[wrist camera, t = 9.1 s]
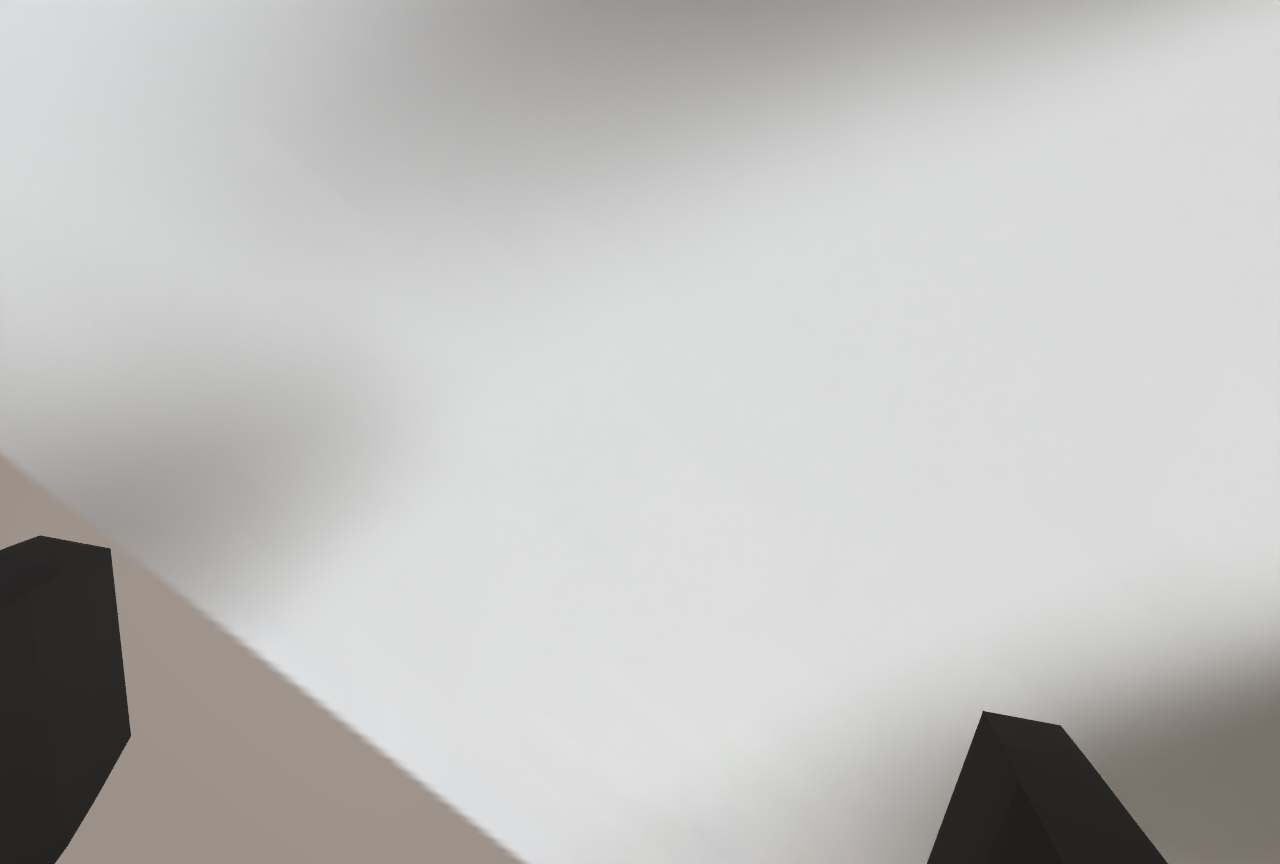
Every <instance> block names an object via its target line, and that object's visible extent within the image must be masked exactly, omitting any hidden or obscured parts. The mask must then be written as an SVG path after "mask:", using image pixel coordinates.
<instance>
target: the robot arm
mask: <svg viewBox="0 0 1280 864" xmlns="http://www.w3.org/2000/svg"><path fill="white" fill-rule="evenodd" d="M130 737H131V733H130V724H129V714H128V705H127V696H126V686H125V677H124V669H123V659H122V651H121V641H120V632H119V623H118V613H117V605H116V596H115V586H114V577H113V569H112V559H111V549H110V548H104V547H99V546H94V545H88V544H82V543H78V542H72V541H66V540H61V539H56V538H51V537H45V536H37V537H35V538H32V539H29V540H26V541H24V542H21V543H18V544H15V545H13V546H10V547H7V548H5V549H3V550H0V864H55V862H56V861H57V860H58V858H59V857H60V855H61V854H62V853H63V851H64V850H65V849H66V847H67V846H68V844H69V843H70V841H71V839H72V838H73V836H74V834H75V833H76V831H77V829H78V827H79V826H80V824H81V822H82V821H83V819H84V818H85V816H86V814H87V813H88V811H89V809H90V808H91V806H92V804H93V803H94V801H95V799H96V797H97V796H98V794H99V792H100V790H101V789H102V787H103V785H104V783H105V782H106V780H107V778H108V776H109V774H110V773H111V770H112V769H113V767H114V765H115V764H116V762H117V760H118V758H119V756H120V755H121V753H122V751H123V749H124V747H125V746H126V744H127V742H128V740H129V739H130ZM927 864H1168V863H1167V862H1166V861H1165V859H1164V858H1163V857H1162V855H1161V854H1160V853H1159V852H1158V850H1157V849H1156V848H1155V846H1154V845H1153V844H1152V843H1151V841H1150V840H1149V839H1148V837H1147V836H1146V835H1145V833H1144V832H1143V831H1142V830H1141V828H1140V827H1139V826H1138V824H1137V823H1136V822H1135V821H1134V819H1133V818H1132V817H1131V815H1130V814H1129V813H1128V811H1127V810H1126V809H1125V807H1124V806H1123V805H1122V804H1121V802H1120V801H1119V800H1118V798H1117V797H1116V796H1115V794H1114V793H1113V792H1112V790H1111V789H1110V788H1109V787H1108V785H1107V784H1106V783H1105V781H1104V780H1103V779H1102V777H1101V776H1100V775H1099V774H1098V772H1097V771H1096V770H1095V768H1094V767H1093V766H1092V764H1091V763H1090V762H1089V761H1088V759H1087V758H1086V757H1085V755H1084V754H1083V753H1082V752H1081V750H1080V749H1079V748H1078V747H1077V745H1076V744H1075V743H1074V742H1073V740H1072V739H1071V738H1070V737H1069V735H1068V734H1067V733H1066V732H1065V730H1064V729H1063V728H1062V727H1061V726H1060V725H1055V724H1050V723H1044V722H1039V721H1034V720H1028V719H1023V718H1018V717H1012V716H1007V715H1001V714H996V713H991V712H985V711H983V713H982V716H981V718H980V721H979V724H978V727H977V729H976V732H975V735H974V737H973V740H972V743H971V746H970V748H969V751H968V754H967V756H966V759H965V762H964V765H963V767H962V770H961V773H960V775H959V778H958V781H957V784H956V786H955V789H954V792H953V794H952V797H951V800H950V803H949V805H948V808H947V811H946V813H945V816H944V819H943V822H942V824H941V827H940V830H939V832H938V835H937V838H936V841H935V843H934V846H933V849H932V851H931V854H930V857H929V860H928V862H927Z"/></svg>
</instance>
